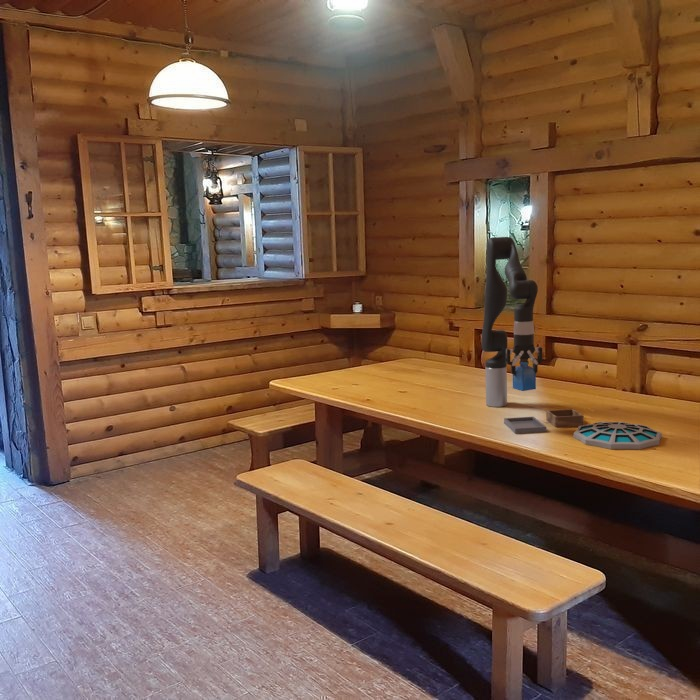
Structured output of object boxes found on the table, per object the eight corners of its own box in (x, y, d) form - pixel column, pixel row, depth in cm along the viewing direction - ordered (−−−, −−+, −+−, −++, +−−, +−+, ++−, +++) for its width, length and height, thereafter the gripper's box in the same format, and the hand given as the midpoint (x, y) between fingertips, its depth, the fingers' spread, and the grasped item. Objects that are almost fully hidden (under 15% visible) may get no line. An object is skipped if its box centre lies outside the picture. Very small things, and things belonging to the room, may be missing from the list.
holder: (546, 420, 294) (546, 410, 293) (573, 418, 294) (573, 408, 294) (555, 427, 283) (555, 417, 282) (583, 425, 283) (583, 415, 283)
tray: (504, 423, 292) (504, 418, 292) (533, 421, 293) (533, 416, 292) (515, 433, 276) (515, 428, 276) (546, 431, 277) (546, 426, 277)
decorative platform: (558, 440, 266) (558, 427, 265) (596, 423, 286) (596, 411, 286) (641, 456, 244) (641, 441, 244) (676, 436, 264) (676, 423, 264)
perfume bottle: (512, 388, 284) (512, 358, 282) (525, 386, 286) (525, 356, 284) (522, 391, 278) (522, 360, 276) (535, 389, 281) (535, 358, 279)
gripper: (539, 330, 283) (539, 371, 285) (502, 332, 282) (503, 373, 285) (545, 332, 275) (545, 375, 278) (507, 334, 275) (508, 377, 277)
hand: (524, 374), depth 281 cm, fingers closed on perfume bottle, 7 cm apart
